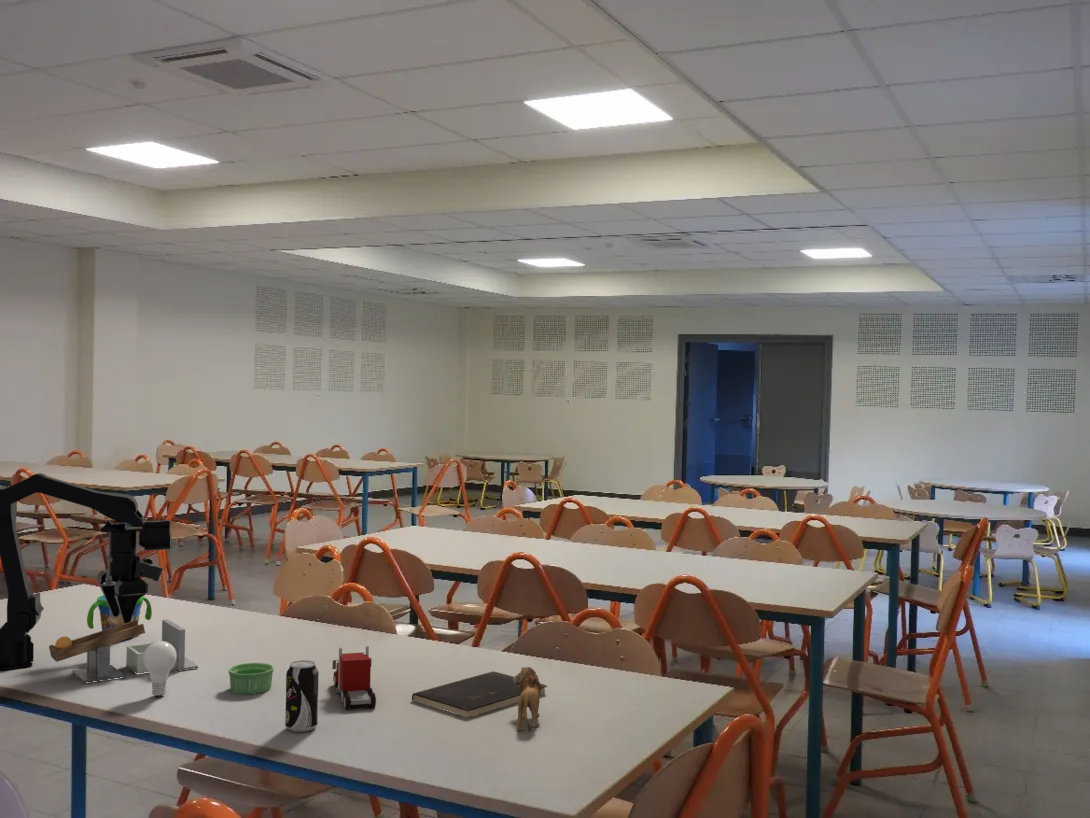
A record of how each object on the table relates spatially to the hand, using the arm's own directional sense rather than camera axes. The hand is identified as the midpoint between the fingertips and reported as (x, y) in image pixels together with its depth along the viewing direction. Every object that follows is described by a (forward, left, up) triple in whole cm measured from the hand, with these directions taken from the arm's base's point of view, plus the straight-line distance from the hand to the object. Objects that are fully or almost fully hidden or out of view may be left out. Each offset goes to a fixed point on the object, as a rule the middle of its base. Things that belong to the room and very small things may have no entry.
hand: (121, 619), depth 228 cm
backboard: (+10, -10, -9) cm, 17 cm away
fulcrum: (-7, -11, -9) cm, 16 cm away
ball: (-14, -11, -2) cm, 18 cm away
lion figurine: (+50, -86, -9) cm, 100 cm away
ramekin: (+16, -38, -9) cm, 42 cm away
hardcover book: (+52, -69, -10) cm, 86 cm away
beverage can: (+14, -67, -9) cm, 68 cm away
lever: (-7, -4, -3) cm, 9 cm away
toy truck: (+31, -54, -10) cm, 63 cm away
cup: (+4, -11, -9) cm, 14 cm away
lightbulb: (-1, -33, -9) cm, 34 cm away
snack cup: (+6, +21, -9) cm, 24 cm away
